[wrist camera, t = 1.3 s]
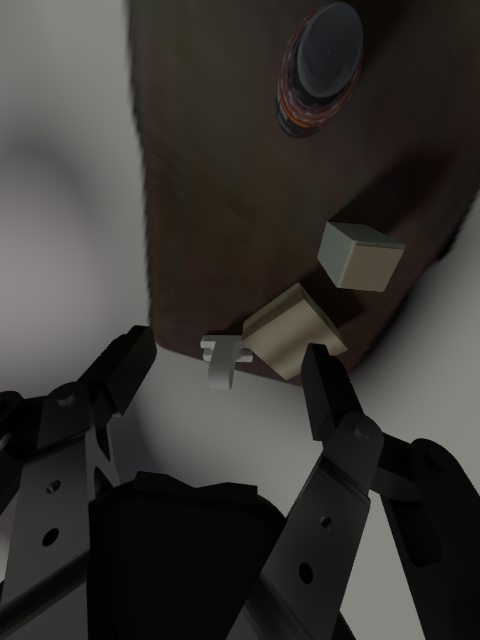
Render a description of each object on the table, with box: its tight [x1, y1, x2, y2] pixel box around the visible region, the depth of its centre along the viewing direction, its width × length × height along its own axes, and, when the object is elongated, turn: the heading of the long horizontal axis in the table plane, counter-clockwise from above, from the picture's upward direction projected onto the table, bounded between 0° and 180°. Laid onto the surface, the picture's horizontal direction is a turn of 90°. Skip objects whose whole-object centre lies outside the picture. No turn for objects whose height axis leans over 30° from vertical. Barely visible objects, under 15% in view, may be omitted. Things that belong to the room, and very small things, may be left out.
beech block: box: [241, 282, 348, 380], centre depth 37 cm, size 12×12×6 cm
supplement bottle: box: [275, 2, 363, 139], centre depth 18 cm, size 6×6×11 cm
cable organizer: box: [201, 335, 253, 389], centre depth 39 cm, size 5×10×10 cm, turn 93°
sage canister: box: [317, 222, 405, 292], centre depth 26 cm, size 5×5×11 cm
